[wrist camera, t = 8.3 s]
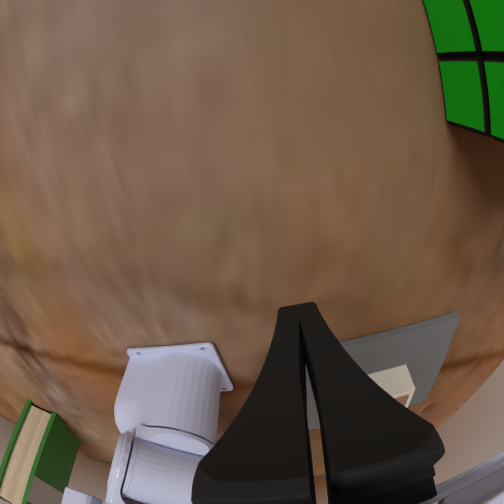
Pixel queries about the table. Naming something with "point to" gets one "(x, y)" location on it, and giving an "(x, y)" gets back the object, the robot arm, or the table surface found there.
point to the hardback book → (37, 459)
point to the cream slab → (396, 383)
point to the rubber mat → (399, 355)
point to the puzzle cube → (471, 62)
